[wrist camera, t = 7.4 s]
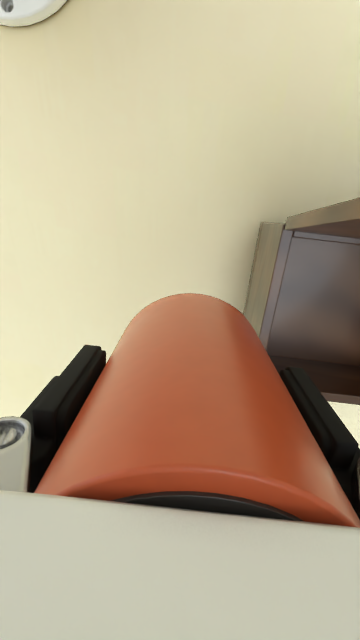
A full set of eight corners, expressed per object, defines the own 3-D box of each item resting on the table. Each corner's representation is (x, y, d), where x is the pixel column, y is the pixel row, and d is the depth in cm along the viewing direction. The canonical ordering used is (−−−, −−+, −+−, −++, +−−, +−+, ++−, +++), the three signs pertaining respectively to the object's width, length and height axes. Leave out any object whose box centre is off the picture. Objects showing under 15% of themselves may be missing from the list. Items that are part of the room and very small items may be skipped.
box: (376, 371, 30) (425, 413, 24) (235, 355, 30) (247, 392, 24) (424, 241, 26) (501, 249, 20) (260, 221, 26) (283, 223, 20)
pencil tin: (96, 382, 14) (-53, 650, 5) (161, 264, 12) (88, 391, 3) (212, 439, 15) (241, 747, 6) (290, 338, 13) (488, 586, 4)
